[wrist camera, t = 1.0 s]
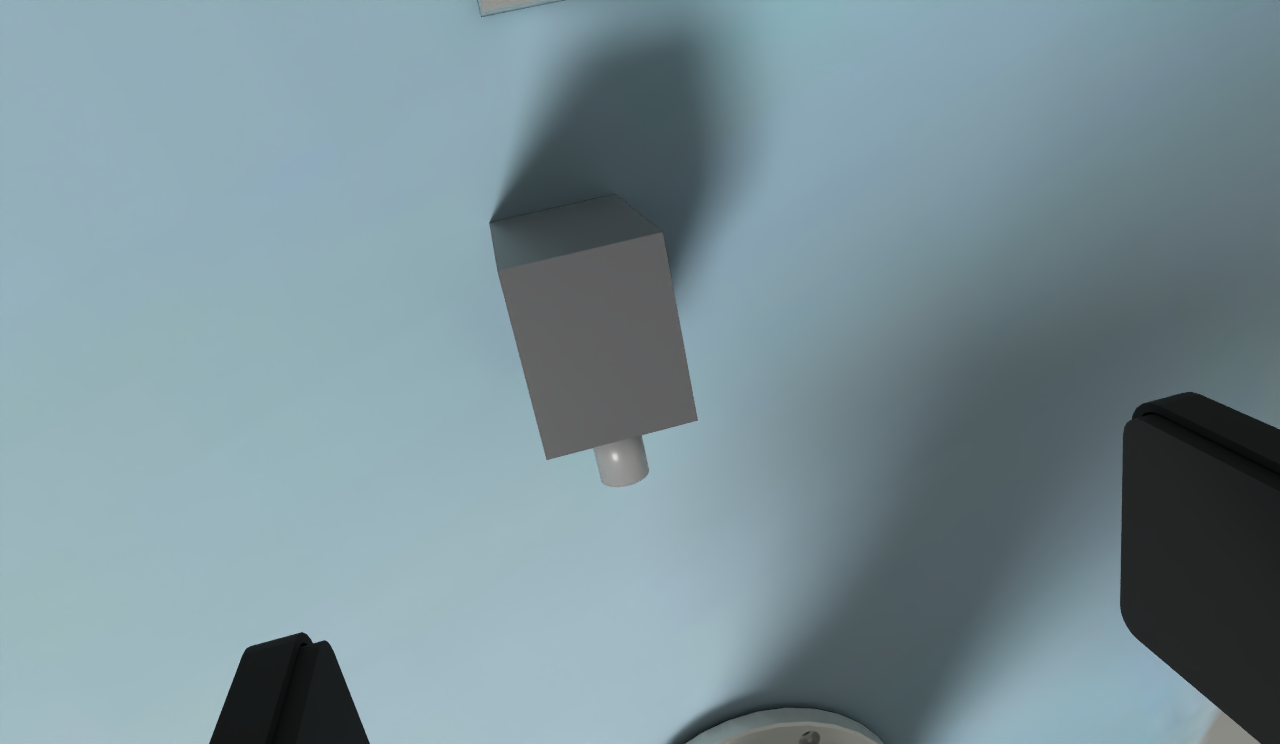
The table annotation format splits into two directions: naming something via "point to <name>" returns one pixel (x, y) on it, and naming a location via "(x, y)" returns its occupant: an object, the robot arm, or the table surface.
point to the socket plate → (508, 5)
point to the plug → (595, 330)
